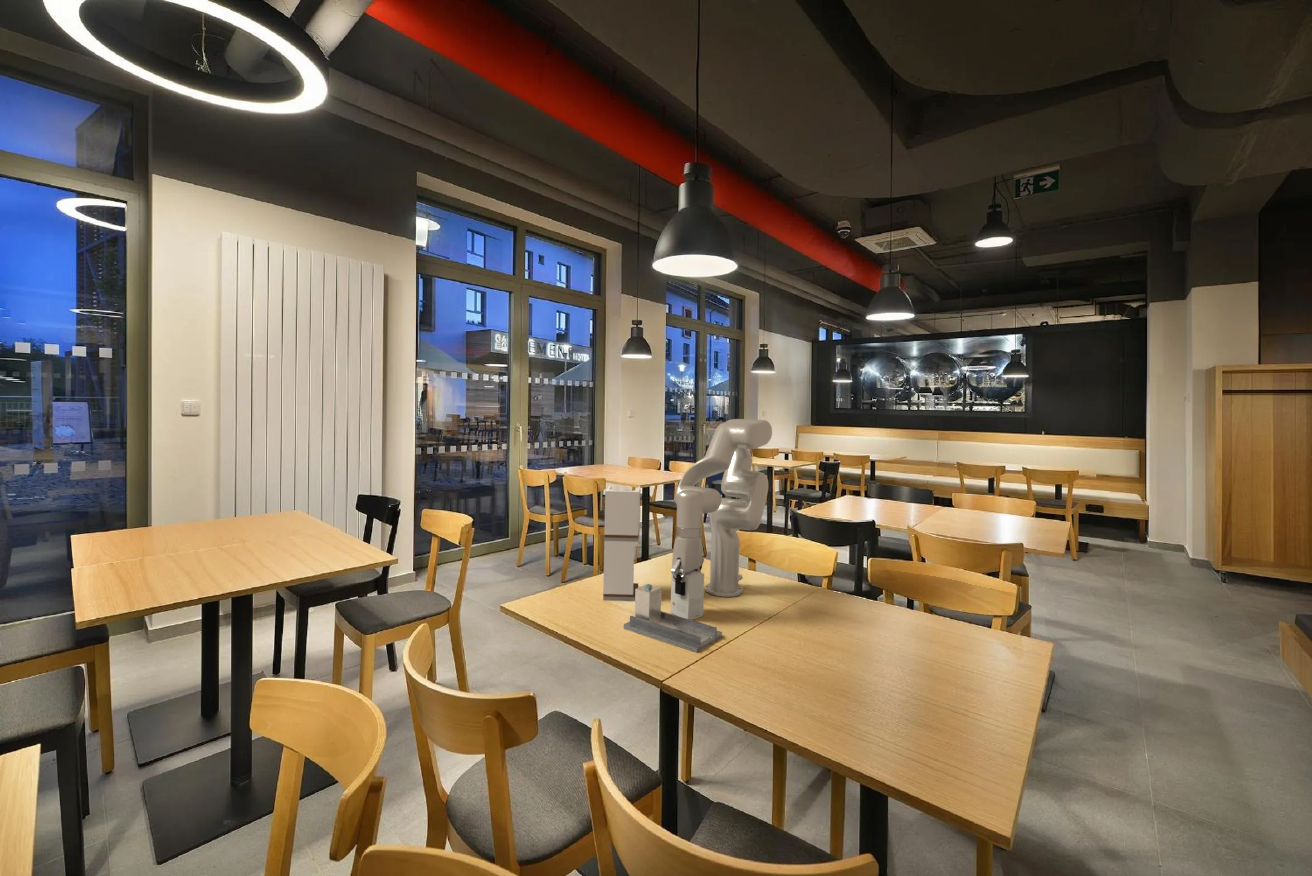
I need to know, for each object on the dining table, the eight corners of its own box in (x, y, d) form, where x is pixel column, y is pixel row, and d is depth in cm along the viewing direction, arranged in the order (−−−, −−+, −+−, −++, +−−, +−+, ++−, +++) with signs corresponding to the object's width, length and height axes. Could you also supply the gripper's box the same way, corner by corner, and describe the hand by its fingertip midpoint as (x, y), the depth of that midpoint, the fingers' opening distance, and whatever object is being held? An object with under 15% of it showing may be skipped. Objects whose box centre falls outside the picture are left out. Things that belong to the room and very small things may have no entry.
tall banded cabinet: (636, 601, 178) (639, 492, 176) (603, 600, 178) (605, 491, 176) (638, 589, 189) (640, 486, 187) (606, 588, 190) (608, 485, 187)
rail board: (651, 615, 167) (652, 577, 166) (721, 636, 152) (723, 594, 152) (623, 628, 156) (624, 588, 155) (696, 652, 142) (697, 608, 141)
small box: (703, 616, 166) (705, 573, 166) (688, 621, 162) (689, 577, 162) (685, 608, 173) (686, 566, 172) (669, 612, 169) (670, 570, 168)
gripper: (694, 525, 175) (692, 581, 176) (661, 535, 161) (660, 595, 162) (714, 529, 171) (713, 586, 172) (683, 539, 157) (681, 601, 158)
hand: (687, 590), depth 167 cm, fingers closed on small box, 7 cm apart
